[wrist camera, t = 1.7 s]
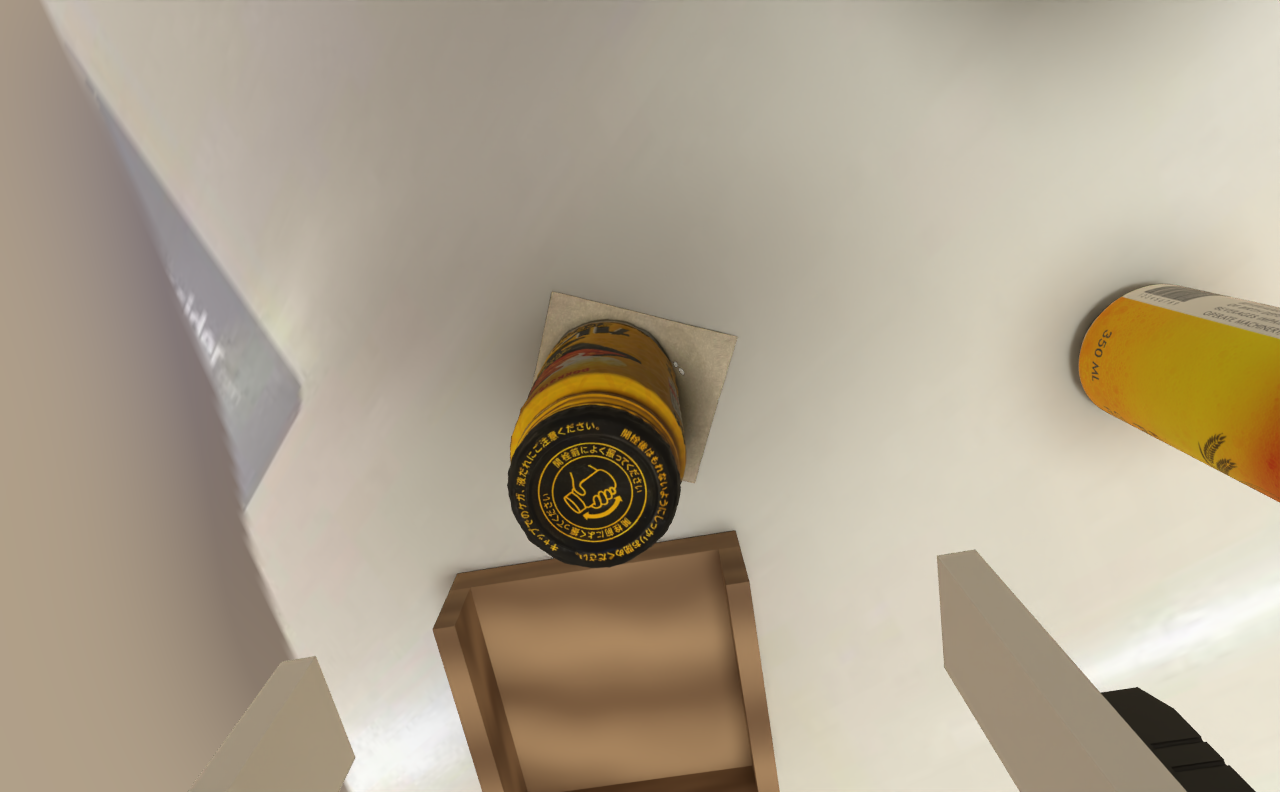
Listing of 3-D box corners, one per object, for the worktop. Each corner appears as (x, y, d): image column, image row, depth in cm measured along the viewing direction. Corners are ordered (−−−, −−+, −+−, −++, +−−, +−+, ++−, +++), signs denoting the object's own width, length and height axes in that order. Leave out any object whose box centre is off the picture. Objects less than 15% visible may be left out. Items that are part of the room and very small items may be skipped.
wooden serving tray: (457, 573, 36) (426, 644, 30) (735, 530, 35) (752, 594, 30) (519, 789, 40) (501, 884, 34) (768, 755, 39) (788, 846, 34)
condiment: (552, 290, 31) (503, 361, 20) (737, 336, 32) (792, 429, 21) (520, 440, 33) (459, 583, 22) (694, 480, 34) (723, 638, 23)
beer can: (1072, 425, 33) (1400, 620, 19) (1062, 300, 31) (1416, 411, 17) (1206, 394, 33) (1645, 569, 18) (1203, 265, 31) (1688, 349, 17)
